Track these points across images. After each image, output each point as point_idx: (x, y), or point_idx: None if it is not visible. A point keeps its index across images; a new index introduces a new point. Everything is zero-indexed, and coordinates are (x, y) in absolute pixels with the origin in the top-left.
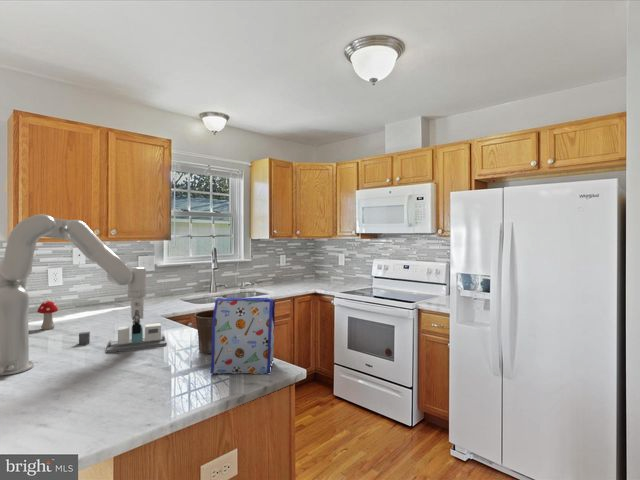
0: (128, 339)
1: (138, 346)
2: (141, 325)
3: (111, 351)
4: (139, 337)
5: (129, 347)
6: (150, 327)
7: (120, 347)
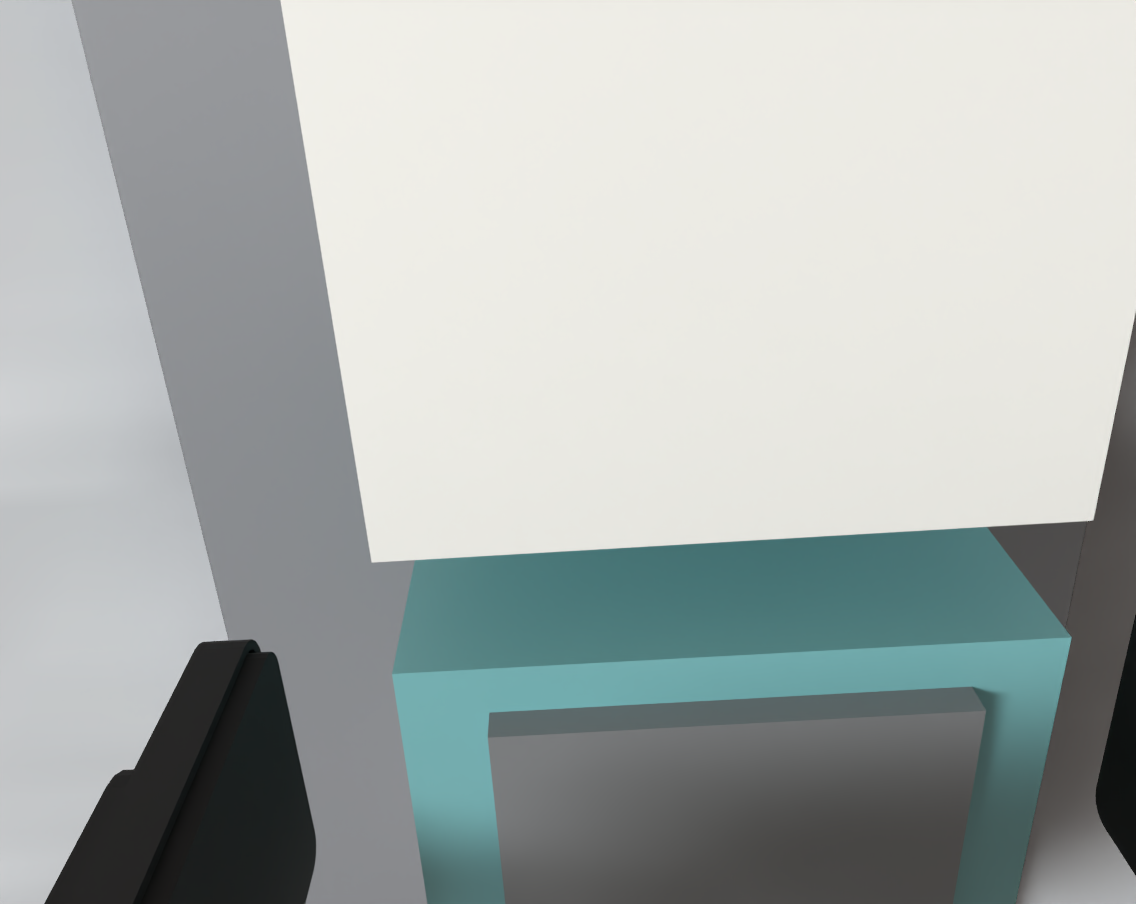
0: None
1: None
2: (549, 705)
3: None
4: None
5: (1064, 615)
6: (1116, 223)
7: None
